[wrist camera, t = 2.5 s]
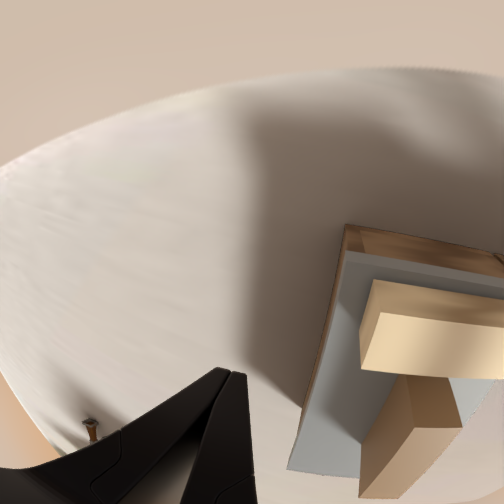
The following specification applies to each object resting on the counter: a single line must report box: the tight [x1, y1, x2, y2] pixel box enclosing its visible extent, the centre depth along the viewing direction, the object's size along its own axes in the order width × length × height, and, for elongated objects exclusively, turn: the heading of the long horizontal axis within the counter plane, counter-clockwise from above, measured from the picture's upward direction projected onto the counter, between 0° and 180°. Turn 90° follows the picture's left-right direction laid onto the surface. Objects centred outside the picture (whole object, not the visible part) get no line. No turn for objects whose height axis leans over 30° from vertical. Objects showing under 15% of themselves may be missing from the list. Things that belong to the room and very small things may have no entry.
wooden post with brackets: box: [82, 418, 105, 445], centre depth 35 cm, size 2×8×4 cm, turn 6°
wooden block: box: [359, 279, 504, 379], centre depth 10 cm, size 8×2×2 cm, turn 86°
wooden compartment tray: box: [297, 224, 504, 434], centre depth 16 cm, size 15×16×6 cm
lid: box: [286, 250, 504, 499], centre depth 13 cm, size 10×16×5 cm, turn 176°
